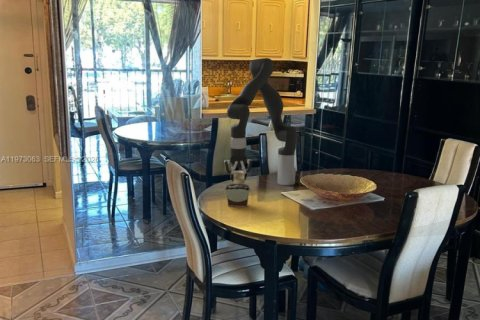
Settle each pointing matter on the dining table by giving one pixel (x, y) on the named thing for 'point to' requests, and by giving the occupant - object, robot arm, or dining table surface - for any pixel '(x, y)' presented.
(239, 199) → the food container
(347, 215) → the dining table surface
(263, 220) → the dining table surface
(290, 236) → the dining table surface
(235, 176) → the beige cube
